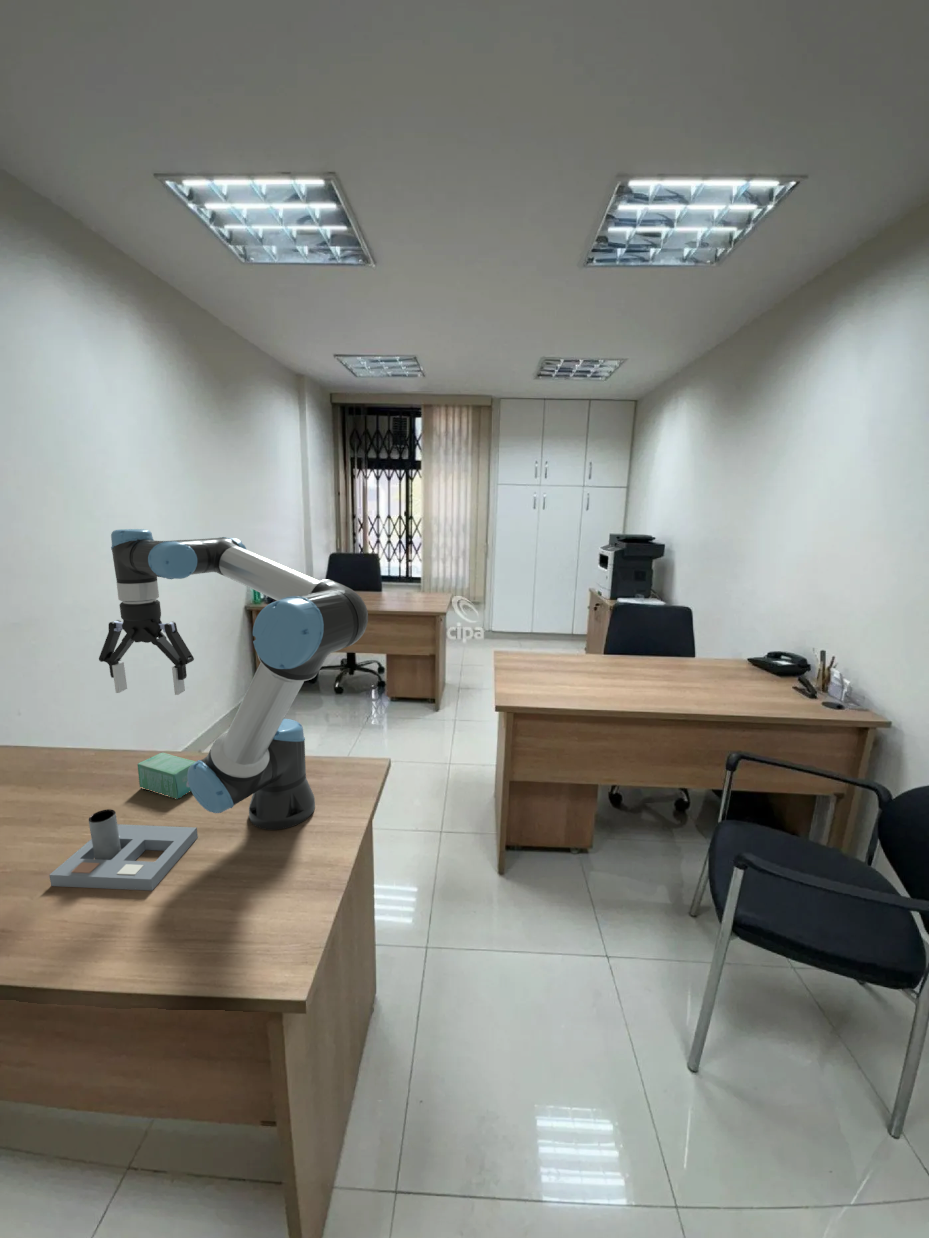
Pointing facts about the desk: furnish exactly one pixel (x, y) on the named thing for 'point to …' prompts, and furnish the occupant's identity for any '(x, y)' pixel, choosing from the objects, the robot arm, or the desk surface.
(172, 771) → the box
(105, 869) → the socket board
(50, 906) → the desk surface
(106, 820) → the grey hollow cylinder
